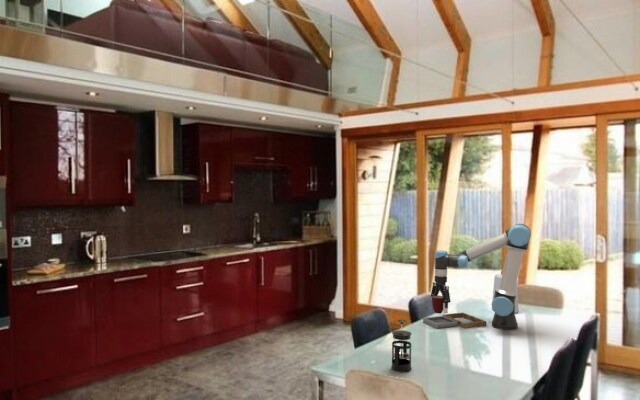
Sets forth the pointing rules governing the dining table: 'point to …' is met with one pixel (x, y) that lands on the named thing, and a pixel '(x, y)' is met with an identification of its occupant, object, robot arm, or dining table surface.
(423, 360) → the dining table surface
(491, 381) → the dining table surface
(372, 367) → the dining table surface
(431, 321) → the tray
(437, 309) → the mug
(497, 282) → the plastic bottle
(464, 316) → the brown wooden tray
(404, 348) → the french press
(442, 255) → the robot arm
